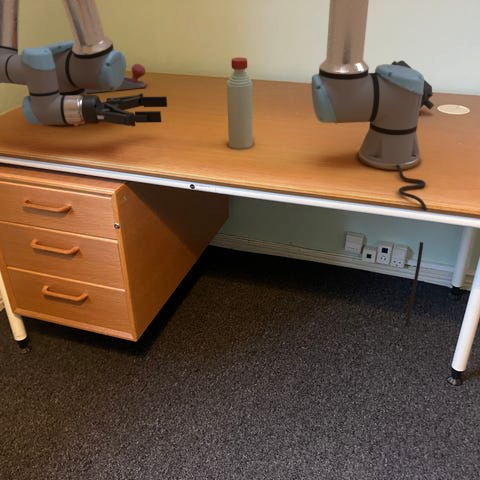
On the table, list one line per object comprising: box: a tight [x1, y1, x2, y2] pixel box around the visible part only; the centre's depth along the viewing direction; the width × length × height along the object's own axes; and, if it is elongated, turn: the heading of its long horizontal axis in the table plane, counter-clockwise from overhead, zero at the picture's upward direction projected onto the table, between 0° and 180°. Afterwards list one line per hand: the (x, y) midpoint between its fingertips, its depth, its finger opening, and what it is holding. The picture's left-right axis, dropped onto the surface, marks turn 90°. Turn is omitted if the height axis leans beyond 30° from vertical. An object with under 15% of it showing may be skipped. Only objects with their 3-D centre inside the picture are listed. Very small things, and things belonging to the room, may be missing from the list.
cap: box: [230, 56, 248, 70], centre depth 138 cm, size 4×4×2 cm
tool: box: [390, 60, 435, 111], centre depth 170 cm, size 6×19×15 cm, turn 51°
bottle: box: [226, 69, 254, 150], centre depth 144 cm, size 7×7×23 cm
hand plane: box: [85, 63, 146, 94], centre depth 194 cm, size 7×31×15 cm, turn 107°
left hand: (164, 108), depth 142 cm, fingers open, 13 cm apart
